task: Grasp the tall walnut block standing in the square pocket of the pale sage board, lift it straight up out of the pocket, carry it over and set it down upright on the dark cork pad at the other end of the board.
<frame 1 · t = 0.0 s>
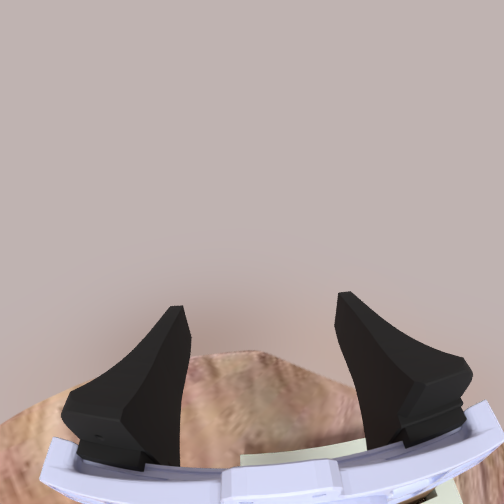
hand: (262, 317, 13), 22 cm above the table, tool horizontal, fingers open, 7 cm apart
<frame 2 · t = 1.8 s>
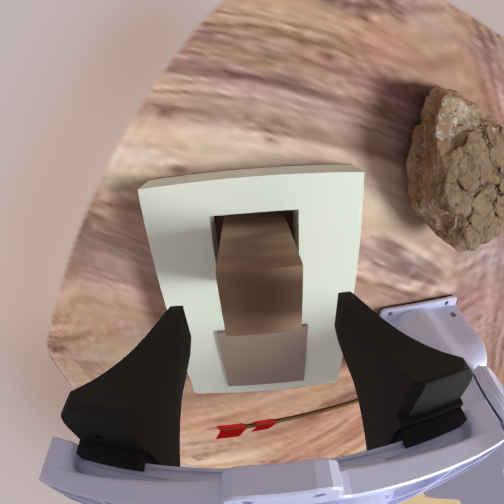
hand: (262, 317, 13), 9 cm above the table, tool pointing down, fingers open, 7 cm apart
arrow: (345, 399, 33), on the table
block: (255, 236, 21), resting in board
rock: (446, 163, 19), on the table
board: (259, 293, 23), on the table
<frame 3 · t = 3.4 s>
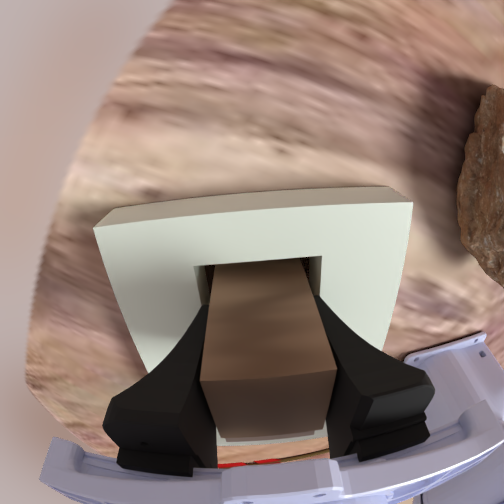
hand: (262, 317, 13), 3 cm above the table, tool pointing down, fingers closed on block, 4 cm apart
arrow: (355, 437, 27), on the table
block: (258, 282, 16), resting in board, touching gripper
rock: (495, 180, 13), on the table
board: (263, 346, 18), on the table
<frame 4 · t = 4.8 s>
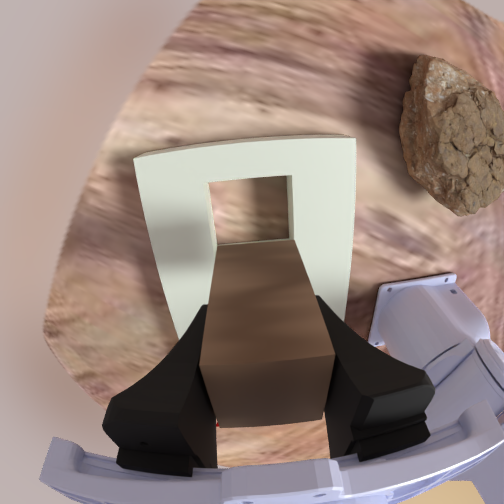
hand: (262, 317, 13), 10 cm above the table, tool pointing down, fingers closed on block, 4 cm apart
block: (258, 275, 16), point 7 cm above the table, touching gripper
rock: (439, 130, 19), on the table
board: (255, 266, 23), on the table
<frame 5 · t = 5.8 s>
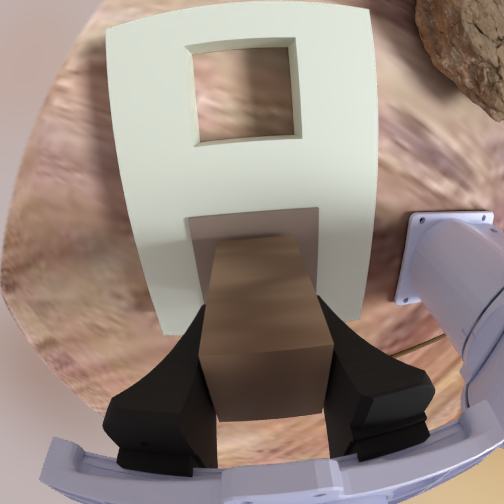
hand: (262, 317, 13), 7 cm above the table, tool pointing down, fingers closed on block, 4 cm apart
block: (257, 271, 16), point 3 cm above the table, touching gripper
rock: (458, 38, 12), on the table
board: (250, 174, 17), on the table
when the fingers open (7 cm above the table, at t = 6.7 s): block stays where it is, resting on board.
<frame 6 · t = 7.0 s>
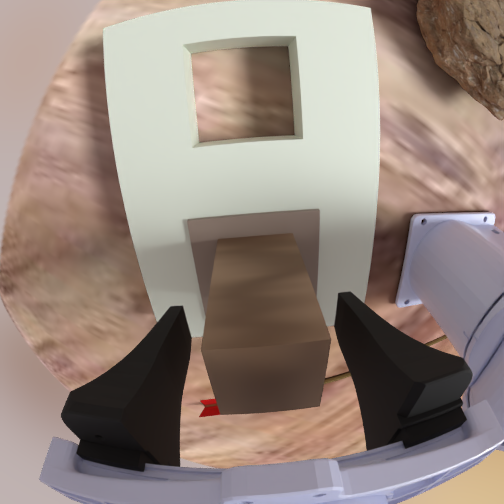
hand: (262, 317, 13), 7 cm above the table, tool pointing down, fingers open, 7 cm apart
arrow: (365, 363, 26), on the table
block: (257, 268, 17), point 3 cm above the table, touching board
rock: (459, 35, 12), on the table
board: (249, 175, 17), on the table
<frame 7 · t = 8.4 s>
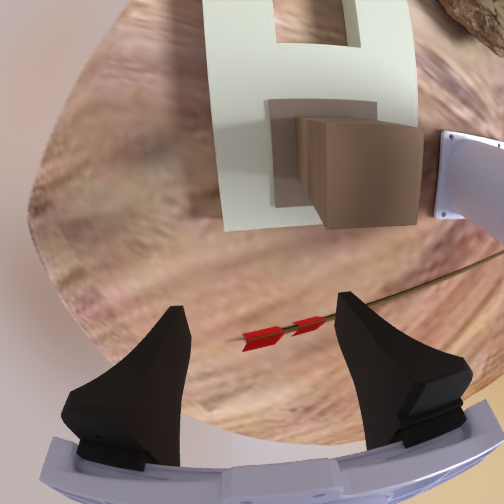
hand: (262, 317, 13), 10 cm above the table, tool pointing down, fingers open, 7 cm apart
arrow: (407, 287, 27), on the table
block: (328, 147, 17), point 3 cm above the table, touching board
rock: (463, 0, 12), on the table
board: (313, 80, 17), on the table
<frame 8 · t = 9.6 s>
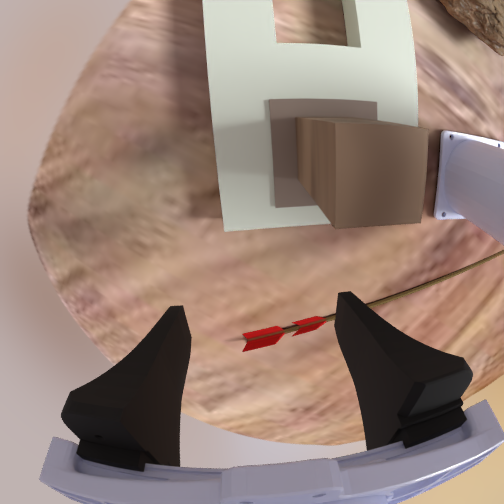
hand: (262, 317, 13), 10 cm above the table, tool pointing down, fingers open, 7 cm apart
arrow: (407, 287, 26), on the table
block: (327, 147, 17), point 3 cm above the table, touching board
board: (313, 80, 17), on the table
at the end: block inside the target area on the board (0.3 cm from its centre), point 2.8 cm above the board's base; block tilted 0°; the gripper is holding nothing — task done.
